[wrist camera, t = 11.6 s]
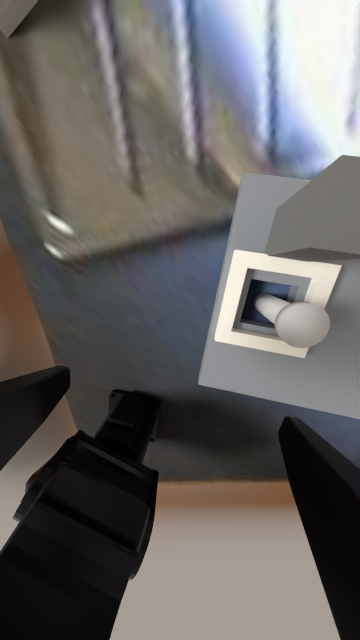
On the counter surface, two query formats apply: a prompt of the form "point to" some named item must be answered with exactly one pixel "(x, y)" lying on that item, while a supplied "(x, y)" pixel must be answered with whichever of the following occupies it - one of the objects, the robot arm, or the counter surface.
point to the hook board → (274, 368)
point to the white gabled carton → (13, 14)
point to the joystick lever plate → (301, 248)
